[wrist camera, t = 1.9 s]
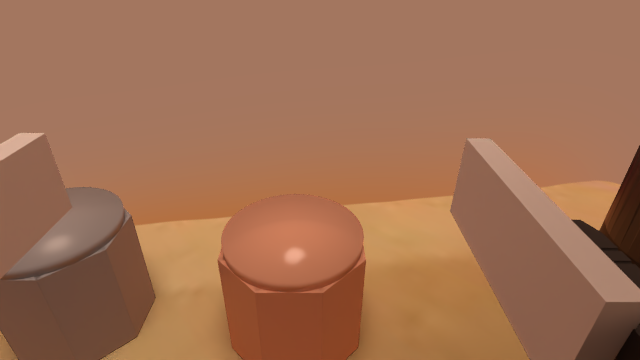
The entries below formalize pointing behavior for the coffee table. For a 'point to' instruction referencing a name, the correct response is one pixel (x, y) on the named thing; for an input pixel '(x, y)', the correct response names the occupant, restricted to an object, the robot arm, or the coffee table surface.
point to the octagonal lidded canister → (293, 279)
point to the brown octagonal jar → (78, 284)
